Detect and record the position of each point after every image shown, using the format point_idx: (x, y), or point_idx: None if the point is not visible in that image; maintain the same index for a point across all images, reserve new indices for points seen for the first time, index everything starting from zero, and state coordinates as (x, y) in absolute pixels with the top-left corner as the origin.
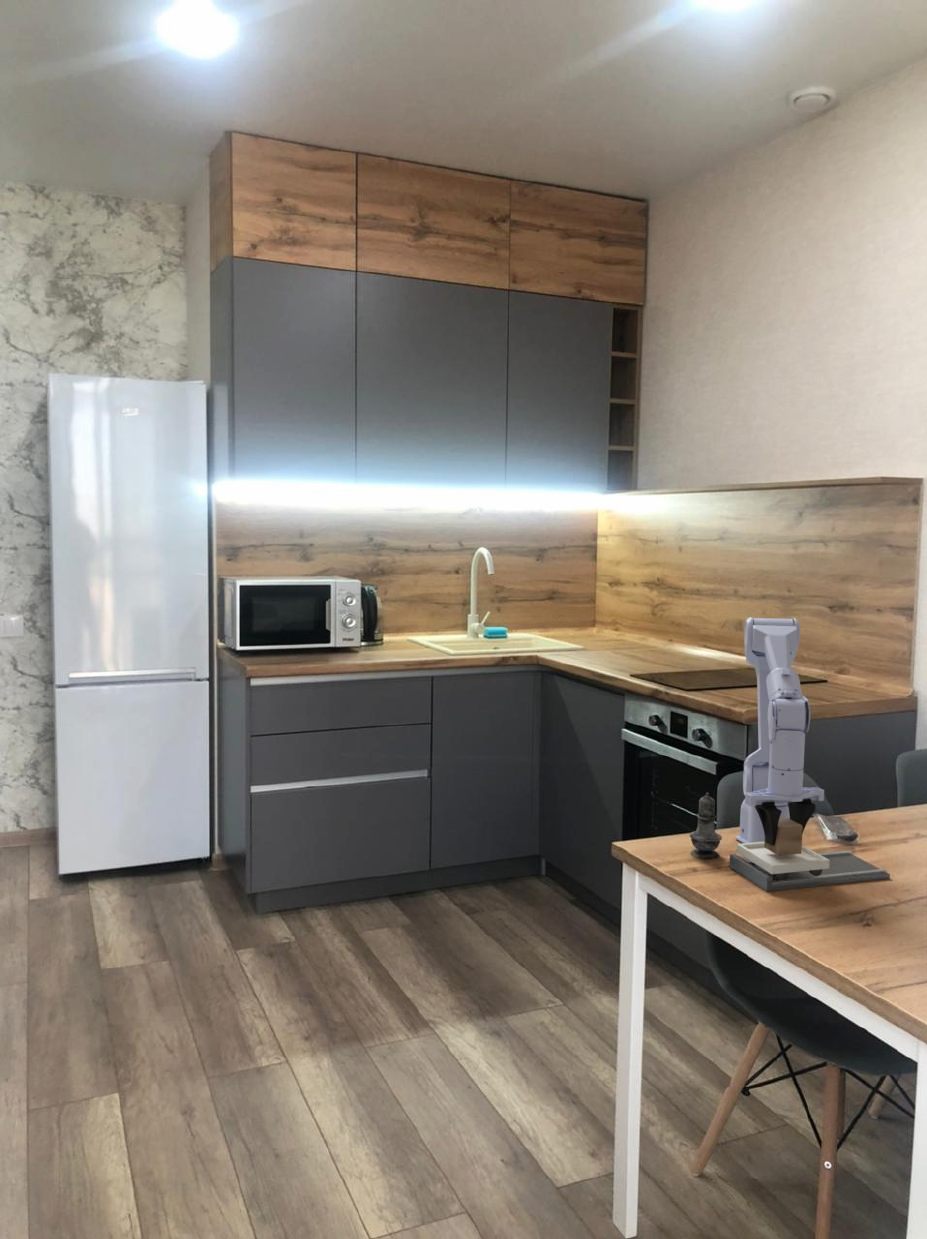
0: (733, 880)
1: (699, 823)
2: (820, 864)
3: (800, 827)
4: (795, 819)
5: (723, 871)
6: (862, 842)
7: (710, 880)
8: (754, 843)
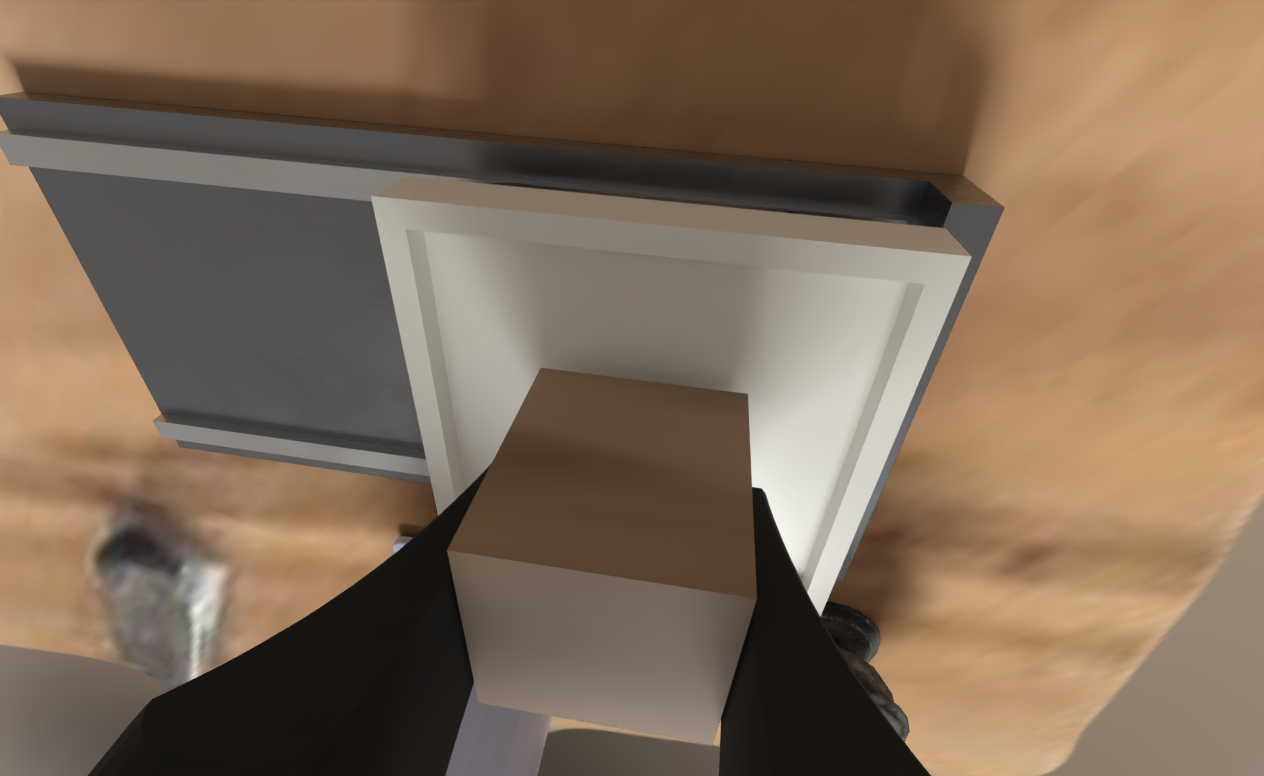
0: (976, 399)
1: None
2: (470, 195)
3: (481, 540)
4: (452, 660)
5: (907, 500)
6: (88, 506)
7: (1100, 443)
8: None
